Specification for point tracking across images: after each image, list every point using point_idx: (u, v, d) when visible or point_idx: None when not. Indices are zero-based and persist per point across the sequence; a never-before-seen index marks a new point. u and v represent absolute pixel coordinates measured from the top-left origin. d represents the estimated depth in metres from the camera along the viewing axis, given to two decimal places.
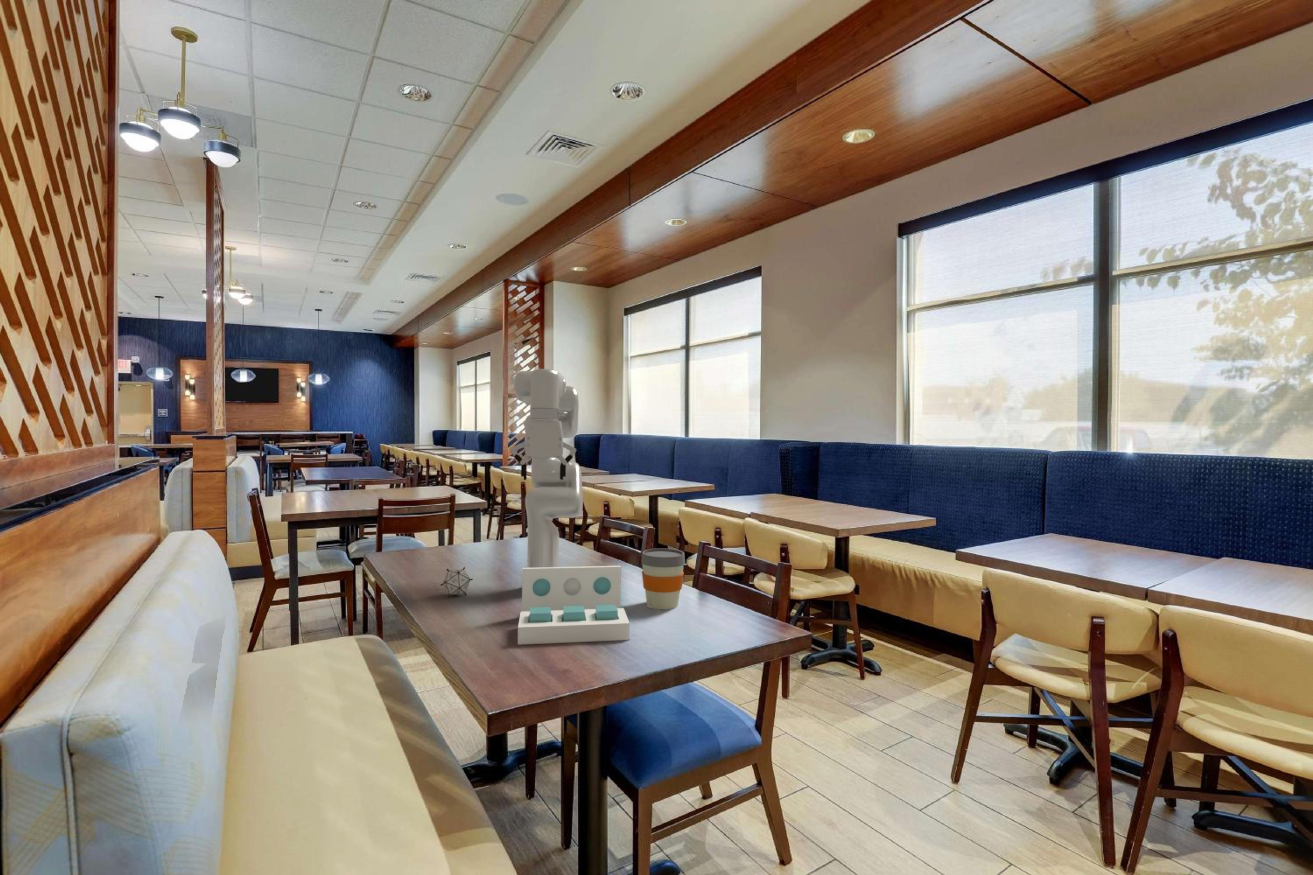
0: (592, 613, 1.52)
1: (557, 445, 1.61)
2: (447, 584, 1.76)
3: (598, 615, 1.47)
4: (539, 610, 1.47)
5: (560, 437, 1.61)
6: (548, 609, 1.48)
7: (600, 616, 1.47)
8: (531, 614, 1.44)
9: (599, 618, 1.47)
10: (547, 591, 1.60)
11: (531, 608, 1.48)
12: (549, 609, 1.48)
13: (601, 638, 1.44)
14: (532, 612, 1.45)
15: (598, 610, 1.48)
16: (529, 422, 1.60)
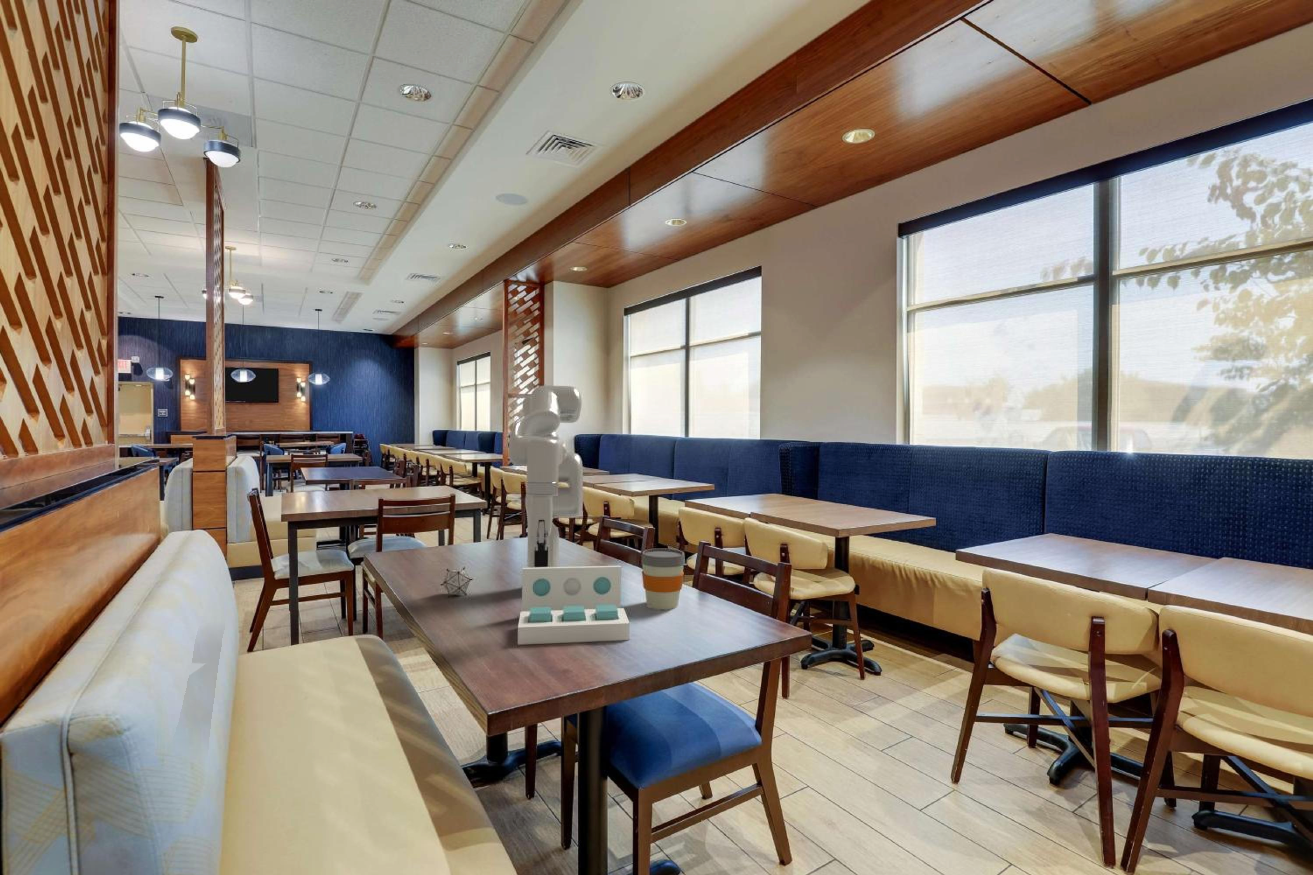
0: (592, 613, 1.52)
1: None
2: (447, 584, 1.76)
3: (598, 615, 1.47)
4: (539, 610, 1.47)
5: None
6: (548, 609, 1.48)
7: (600, 616, 1.47)
8: (531, 614, 1.44)
9: (599, 618, 1.47)
10: (547, 591, 1.60)
11: (531, 608, 1.48)
12: (549, 609, 1.48)
13: (601, 638, 1.44)
14: (532, 612, 1.45)
15: (598, 610, 1.48)
16: (549, 499, 1.43)
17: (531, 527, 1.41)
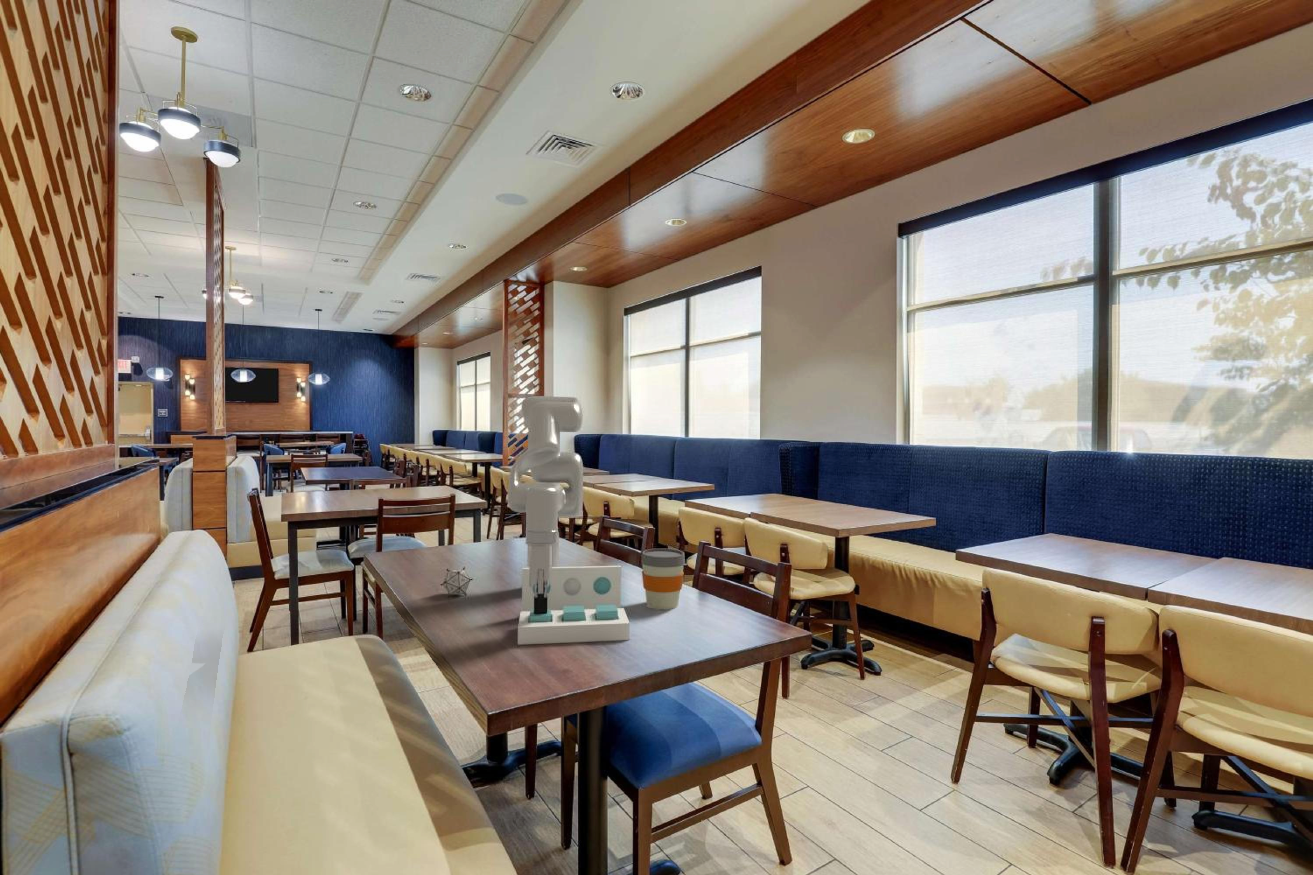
0: (592, 613, 1.52)
1: None
2: (447, 584, 1.76)
3: (598, 615, 1.47)
4: None
5: None
6: (548, 611, 1.48)
7: (600, 616, 1.47)
8: (531, 617, 1.44)
9: (599, 618, 1.47)
10: (547, 591, 1.60)
11: (531, 610, 1.48)
12: (549, 611, 1.48)
13: (601, 638, 1.44)
14: (532, 614, 1.45)
15: (598, 610, 1.48)
16: (549, 548, 1.43)
17: (530, 577, 1.41)
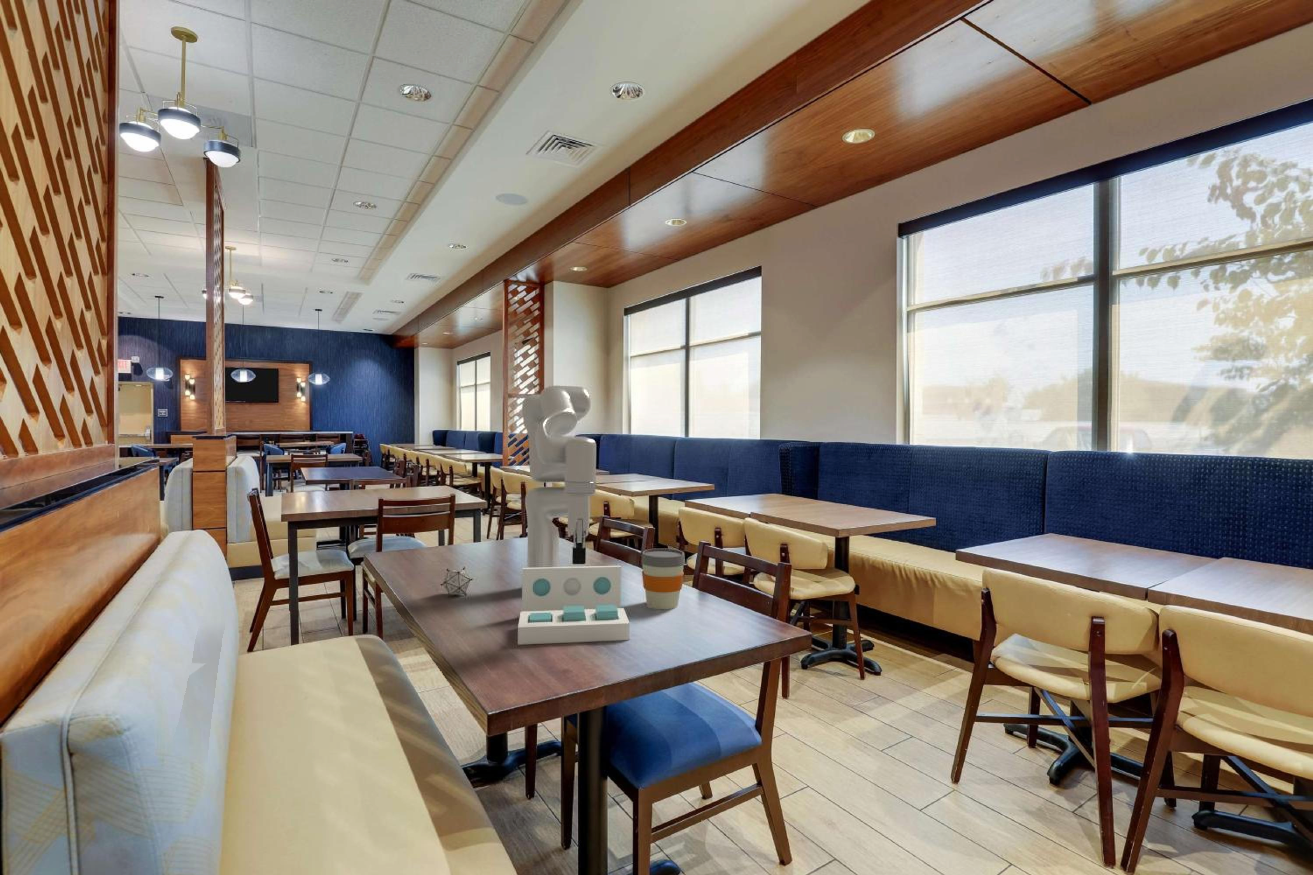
0: (592, 613, 1.52)
1: None
2: (447, 584, 1.76)
3: (598, 615, 1.47)
4: (539, 616, 1.47)
5: None
6: (548, 615, 1.48)
7: (600, 616, 1.47)
8: (531, 620, 1.44)
9: (599, 618, 1.47)
10: (547, 591, 1.60)
11: (531, 614, 1.48)
12: (549, 615, 1.48)
13: (601, 638, 1.44)
14: (532, 618, 1.45)
15: (598, 610, 1.48)
16: (587, 498, 1.44)
17: (569, 526, 1.43)
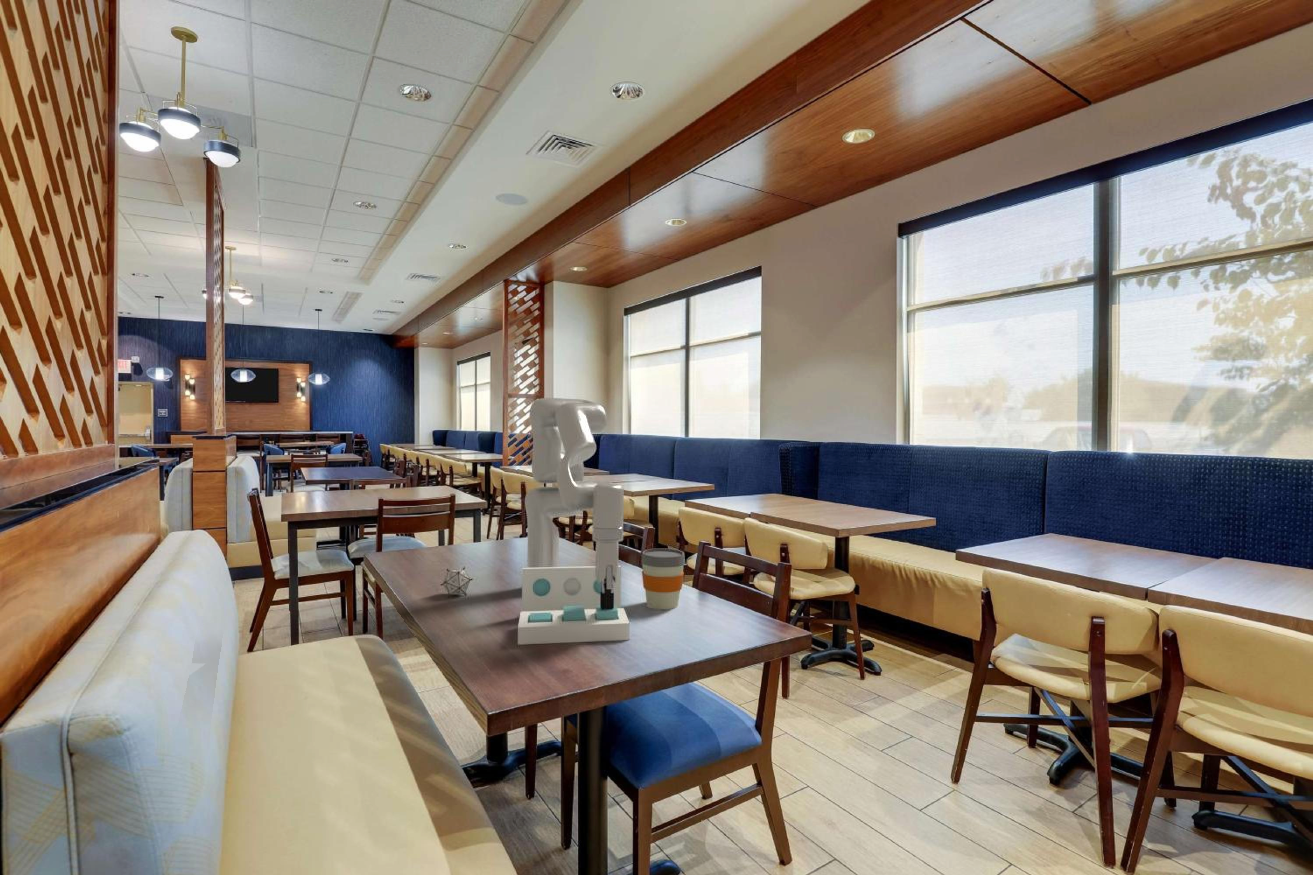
0: (592, 613, 1.52)
1: None
2: (447, 584, 1.76)
3: (598, 615, 1.47)
4: (539, 616, 1.47)
5: None
6: (548, 615, 1.48)
7: (600, 616, 1.47)
8: (531, 620, 1.44)
9: (599, 618, 1.47)
10: (547, 591, 1.60)
11: (531, 614, 1.48)
12: (549, 615, 1.48)
13: (601, 638, 1.44)
14: (532, 618, 1.45)
15: (598, 610, 1.48)
16: (616, 544, 1.46)
17: (599, 573, 1.44)
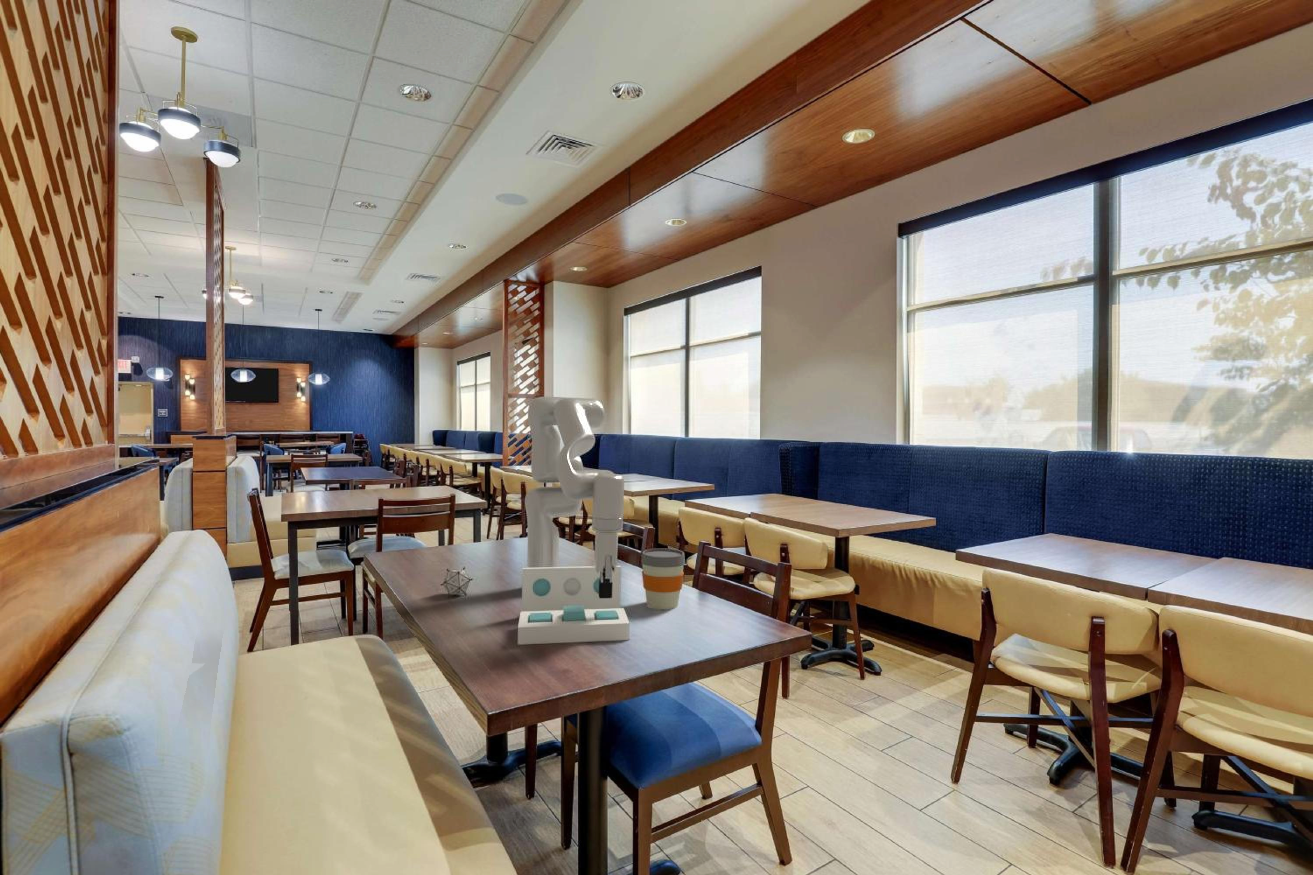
0: (592, 613, 1.52)
1: None
2: (447, 584, 1.76)
3: None
4: (539, 616, 1.47)
5: None
6: (548, 615, 1.48)
7: None
8: (531, 620, 1.44)
9: None
10: (547, 591, 1.60)
11: (531, 614, 1.48)
12: (549, 615, 1.48)
13: (601, 638, 1.44)
14: (532, 618, 1.45)
15: (598, 616, 1.48)
16: (616, 534, 1.46)
17: (598, 562, 1.45)
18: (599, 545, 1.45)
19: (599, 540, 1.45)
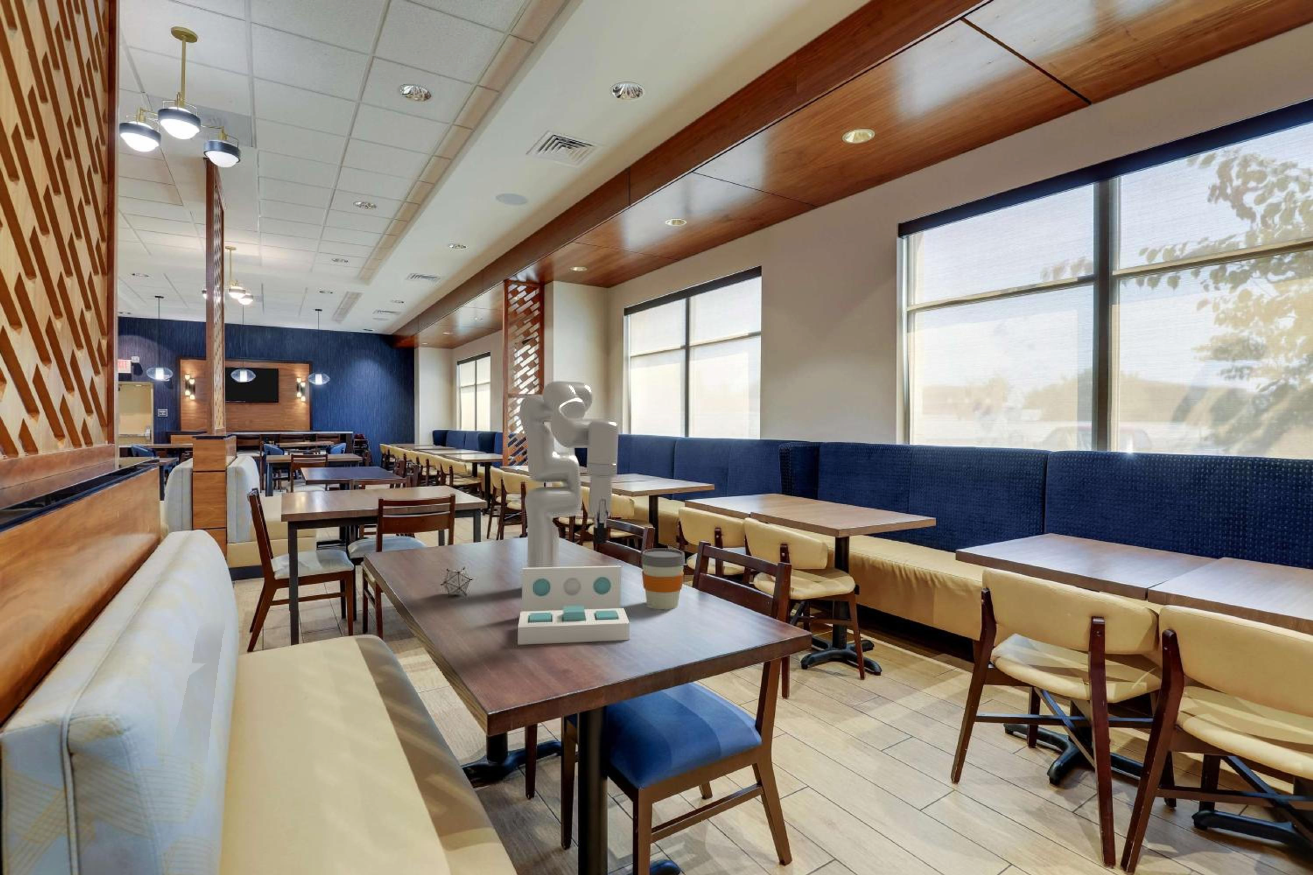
0: (592, 613, 1.52)
1: None
2: (447, 584, 1.76)
3: None
4: (539, 616, 1.47)
5: None
6: (548, 615, 1.48)
7: None
8: (531, 620, 1.44)
9: None
10: (547, 591, 1.60)
11: (531, 614, 1.48)
12: (549, 615, 1.48)
13: (601, 638, 1.44)
14: (532, 618, 1.45)
15: (598, 616, 1.48)
16: (610, 479, 1.48)
17: (593, 506, 1.47)
18: (593, 489, 1.47)
19: (593, 485, 1.47)
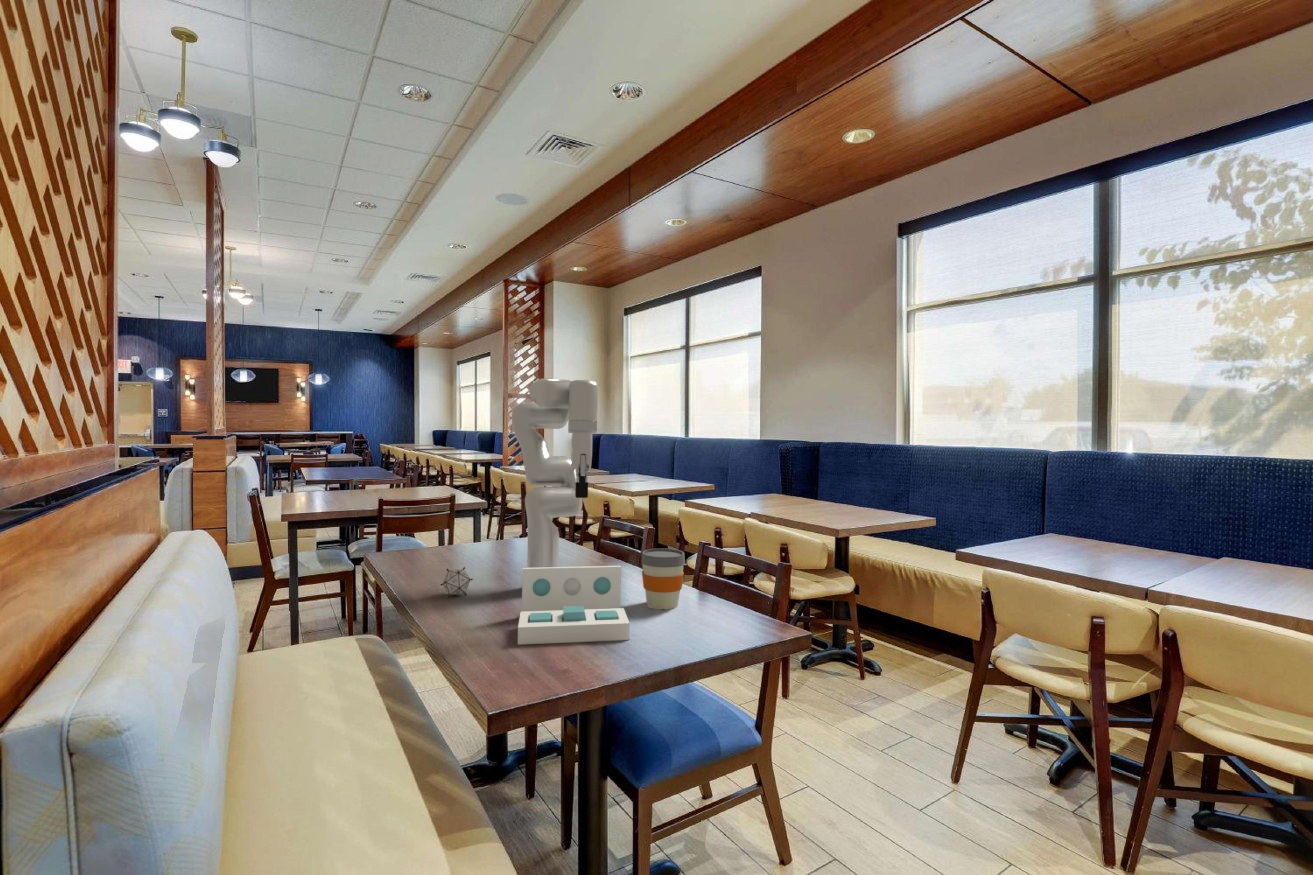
0: (592, 613, 1.52)
1: None
2: (447, 584, 1.76)
3: None
4: (539, 616, 1.47)
5: None
6: (548, 615, 1.48)
7: None
8: (531, 620, 1.44)
9: None
10: (547, 591, 1.60)
11: (531, 614, 1.48)
12: (549, 615, 1.48)
13: (601, 638, 1.44)
14: (532, 618, 1.45)
15: (598, 616, 1.48)
16: (590, 435, 1.55)
17: (574, 460, 1.54)
18: (574, 444, 1.54)
19: (574, 440, 1.54)
